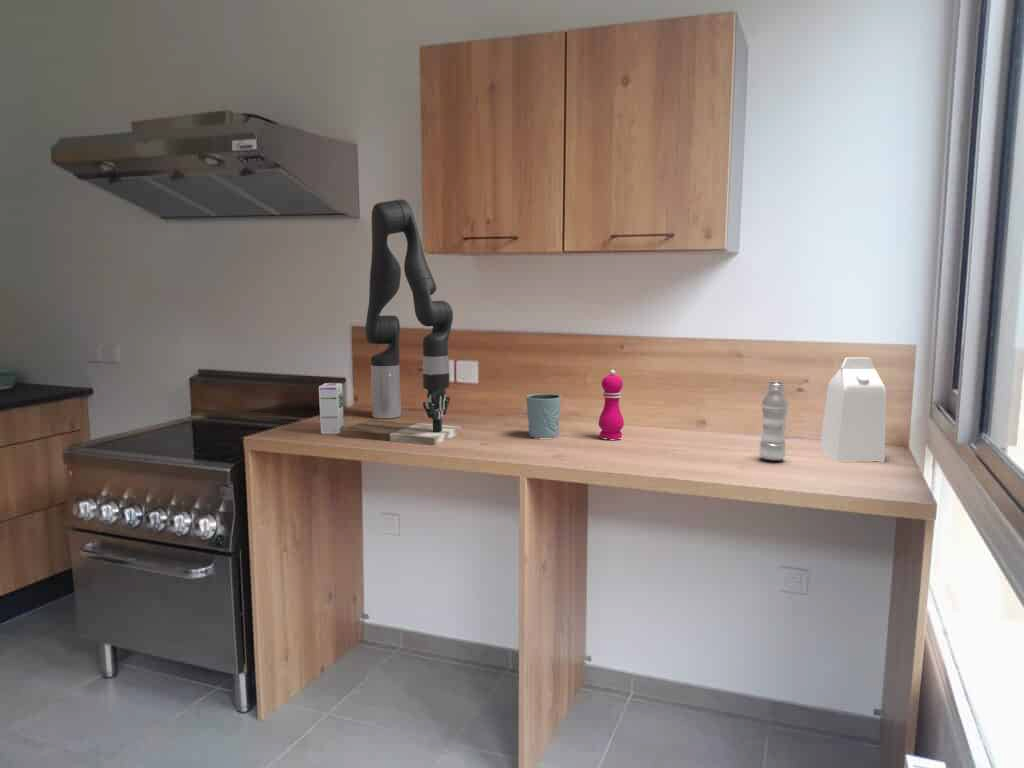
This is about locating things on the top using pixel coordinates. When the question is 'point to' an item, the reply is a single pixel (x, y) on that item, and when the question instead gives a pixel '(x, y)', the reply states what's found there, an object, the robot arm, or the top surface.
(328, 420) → the syrup box
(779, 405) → the plastic bottle
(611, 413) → the pepper mill
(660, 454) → the top surface
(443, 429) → the beige flat block
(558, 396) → the blue planter pot
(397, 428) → the planks
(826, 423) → the milk
